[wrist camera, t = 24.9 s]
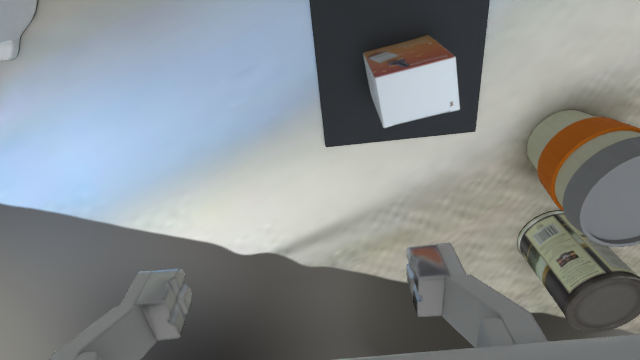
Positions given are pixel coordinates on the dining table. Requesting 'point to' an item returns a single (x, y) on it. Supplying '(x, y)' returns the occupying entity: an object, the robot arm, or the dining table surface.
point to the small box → (412, 80)
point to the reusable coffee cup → (591, 173)
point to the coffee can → (580, 274)
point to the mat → (384, 30)
